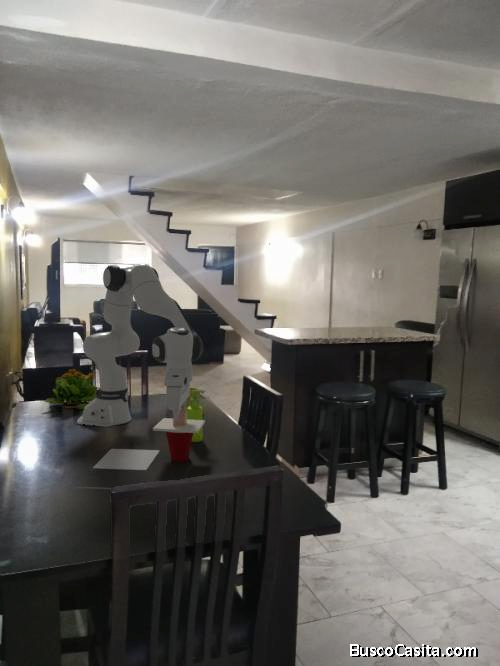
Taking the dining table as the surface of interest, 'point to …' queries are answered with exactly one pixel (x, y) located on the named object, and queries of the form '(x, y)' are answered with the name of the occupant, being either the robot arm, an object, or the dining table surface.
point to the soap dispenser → (195, 414)
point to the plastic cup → (179, 445)
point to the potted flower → (74, 390)
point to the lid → (179, 424)
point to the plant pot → (191, 397)
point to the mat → (127, 459)
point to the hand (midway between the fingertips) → (179, 415)
